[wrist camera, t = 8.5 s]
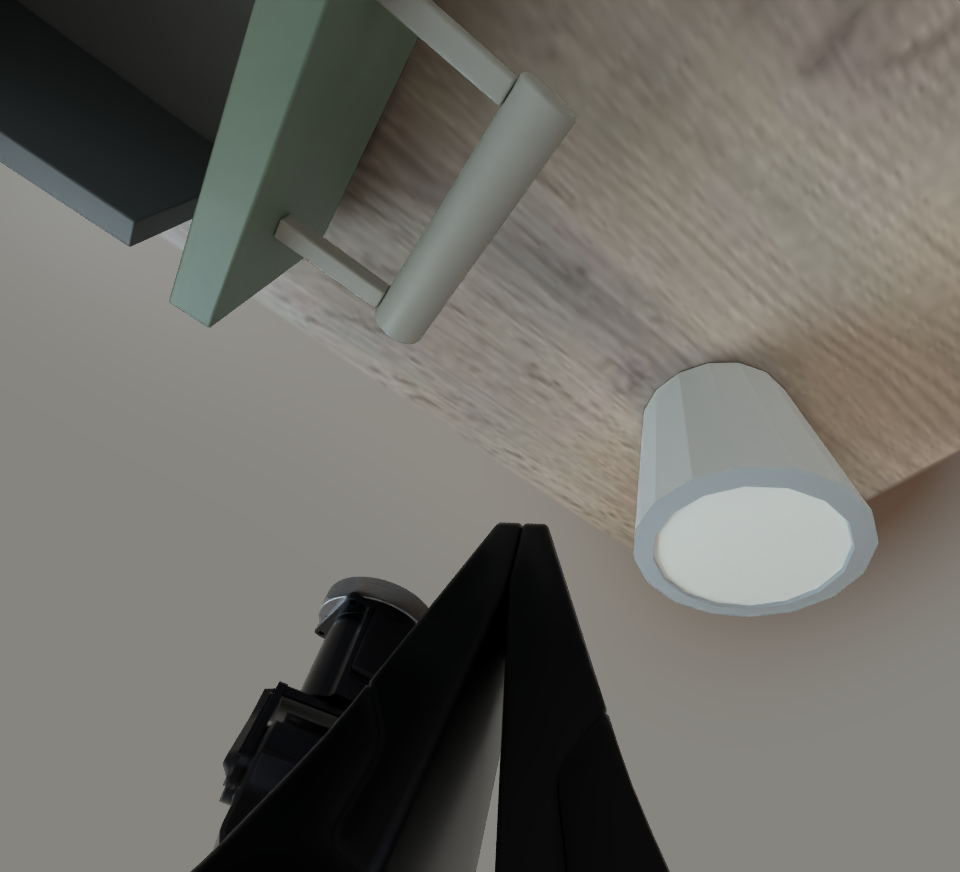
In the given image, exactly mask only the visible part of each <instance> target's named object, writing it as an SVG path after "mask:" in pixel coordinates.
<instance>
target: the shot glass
mask: <svg viewBox="0 0 960 872" xmlns="http://www.w3.org/2000/svg"><path fill="white" fill-rule="evenodd" d="M878 543H879V542H878V537H877V532H876V528H875V523H874V518H873V513H872V510H871V509H870V507H869V506H868V505H867V503H866V502H865V501H864V499H863V498H862V496H861V495H860V494H859V492H858V491H857V489H856V488H855V487H854V485H853V484H852V483H851V481H850V480H849V478H848V477H847V476H846V474H845V473H844V472H843V470H842V469H841V467H840V466H839V465H838V463H837V462H836V460H835V459H834V458H833V456H832V455H831V454H830V452H829V451H828V449H827V448H826V447H825V445H824V444H823V442H822V441H821V440H820V438H819V437H818V436H817V434H816V433H815V431H814V430H813V429H812V427H811V426H810V424H809V423H808V422H807V420H806V419H805V418H804V416H803V415H802V413H801V412H800V411H799V409H798V408H797V406H796V405H795V404H794V402H793V401H792V400H791V398H790V397H789V395H788V394H787V393H786V391H785V390H784V389H783V388H782V387H781V386H780V385H779V384H778V383H777V382H776V381H775V380H774V379H773V378H772V377H771V376H770V375H769V374H768V373H767V372H764V371H761V370H759V369H756V368H753V367H750V366H747V365H744V364H741V363H707V364H704V365H701V366H698V367H695V368H692V369H689V370H686V371H683V372H680V373H678V374H677V375H675V376H674V377H673V378H671V379H670V380H669V381H667V382H666V383H665V384H663V385H662V386H661V387H659V388H658V389H657V390H656V391H655V393H654V395H653V396H652V398H651V399H650V401H649V403H648V404H647V406H646V408H645V409H644V416H643V429H642V443H641V456H640V470H639V484H638V498H637V511H636V525H635V539H634V552H633V557H634V559H635V561H636V563H637V565H638V567H639V568H640V570H641V572H642V574H643V576H644V578H645V579H646V581H647V582H648V583H649V584H650V585H652V586H653V587H655V588H656V589H657V590H659V591H660V592H662V593H663V594H664V595H665V596H667V597H668V598H670V599H671V600H672V601H674V602H677V603H680V604H683V605H686V606H689V607H692V608H695V609H698V610H701V611H704V612H707V613H712V614H722V615H733V616H744V617H755V616H762V615H771V614H778V613H786V612H794V611H796V610H799V609H802V608H805V607H807V606H810V605H813V604H815V603H818V602H821V601H823V600H826V599H829V598H831V597H834V596H835V595H836V594H838V593H839V592H840V591H842V590H843V589H844V588H845V587H847V586H848V585H849V584H850V583H852V582H853V581H854V580H856V579H857V578H858V577H859V576H861V575H862V574H863V573H864V572H865V570H866V568H867V566H868V564H869V562H870V560H871V558H872V556H873V554H874V551H875V549H876V547H877V545H878Z"/></svg>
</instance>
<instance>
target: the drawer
mask: <svg viewBox="0 0 960 872" xmlns="http://www.w3.org/2000/svg"><path fill="white" fill-rule="evenodd" d="M435 1H436V0H0V162H1V163H3V164H4V165H6V166H7V167H9V168H10V169H12V170H13V171H15V172H17V173H18V174H20V175H21V176H23V177H24V178H26V179H27V180H29V181H30V182H32V183H33V184H35V185H36V186H38V187H39V188H41V189H42V190H44V191H45V192H47V193H48V194H50V195H52V196H53V197H54V198H56V199H58V200H59V201H61V202H62V203H64V204H65V205H67V206H68V207H70V208H71V209H73V210H74V211H76V212H77V213H79V214H80V215H82V216H83V217H85V218H86V219H88V220H89V221H91V222H93V223H94V224H96V225H97V226H99V227H100V228H102V229H103V230H105V231H106V232H108V233H109V234H111V235H112V236H114V237H115V238H117V239H118V240H120V241H121V242H123V243H125V244H126V245H128V246H133V245H135V244H137V243H140V242H142V241H144V240H146V239H148V238H151V237H153V236H155V235H157V234H160V233H162V232H164V231H166V230H168V229H171V228H173V227H175V226H177V225H179V224H182V223H184V222H186V221H188V220H191V219H192V223H191V226H190V230H189V233H188V237H187V240H186V244H185V247H184V251H183V254H182V258H181V261H180V265H179V268H178V272H177V275H176V279H175V282H174V286H173V290H172V293H171V296H170V300H169V301H170V303H171V304H173V305H174V306H176V307H177V308H179V309H180V310H182V311H183V312H185V313H187V314H188V315H190V316H191V317H193V318H194V319H196V320H198V321H199V322H201V323H202V324H204V325H205V326H207V327H211V326H213V325H214V324H215V323H217V322H218V321H219V320H221V319H222V318H223V317H225V316H226V315H227V314H229V313H230V312H231V311H233V310H234V309H235V308H237V307H238V306H240V305H241V304H242V303H244V302H245V301H246V300H248V299H249V298H250V297H252V296H253V295H254V294H256V293H257V292H258V291H260V290H261V289H263V288H264V287H265V286H267V285H268V284H269V283H271V282H272V281H273V280H275V279H276V278H277V277H279V276H280V275H281V274H283V273H284V272H285V271H287V270H288V269H289V268H291V267H292V266H293V265H295V264H296V263H297V262H299V261H300V260H301V259H303V258H305V259H306V260H307V261H309V262H310V263H312V264H313V265H315V266H316V267H317V268H319V269H320V270H322V271H323V272H324V273H326V274H327V275H329V276H330V277H332V278H333V279H334V280H336V281H337V282H339V283H340V284H341V285H343V286H344V287H346V288H347V289H348V290H350V291H351V292H353V293H354V294H356V295H357V296H358V297H360V298H361V299H363V300H364V301H365V302H367V303H368V304H370V305H371V306H372V307H374V308H376V307H378V308H377V309H376V312H375V318H376V321H377V323H378V325H379V326H380V328H381V329H382V330H383V331H384V332H385V333H386V334H387V335H388V336H390V337H391V338H393V339H395V340H397V341H399V342H401V343H405V344H414V343H416V342H418V341H419V340H420V339H421V338H422V336H423V335H424V333H425V332H426V331H427V329H428V328H429V326H430V325H431V324H432V322H433V321H434V319H435V318H436V317H437V315H438V314H439V312H440V311H441V310H442V308H443V307H444V305H445V304H446V303H447V301H448V300H449V298H450V297H451V296H452V294H453V293H454V291H455V290H456V289H457V287H458V286H459V284H460V283H461V282H462V280H463V279H464V277H465V276H466V275H467V273H468V272H469V270H470V269H471V268H472V266H473V265H474V263H475V262H476V261H477V259H478V258H479V256H480V255H481V254H482V252H483V251H484V249H485V248H486V247H487V245H488V244H489V242H490V241H491V240H492V238H493V237H494V235H495V234H496V233H497V231H498V230H499V228H500V227H501V226H502V224H503V223H504V221H505V220H506V218H507V217H508V216H509V214H510V213H511V211H512V210H513V209H514V207H515V206H516V204H517V203H518V202H519V200H520V199H521V197H522V196H523V195H524V193H525V192H526V190H527V189H528V188H529V186H530V185H531V183H532V182H533V181H534V179H535V178H536V176H537V175H538V174H539V172H540V171H541V169H542V168H543V167H544V165H545V164H546V162H547V161H548V160H549V158H550V157H551V155H552V154H553V153H554V151H555V150H556V148H557V147H558V146H559V144H560V143H561V141H562V140H563V139H564V137H565V136H566V134H567V133H568V132H569V130H570V129H571V127H572V126H573V125H574V123H575V122H576V116H575V114H574V112H573V111H572V109H571V108H570V107H569V106H568V105H567V104H566V103H565V102H564V101H563V100H562V99H561V98H560V97H559V96H558V95H557V94H556V93H555V92H554V91H553V90H552V89H550V88H549V87H548V86H547V85H546V84H544V83H543V82H542V81H541V80H539V79H538V78H537V77H535V76H534V75H532V74H531V73H529V72H525V71H524V72H522V73H521V74H520V76H519V77H518V78H517V76H516V75H515V74H514V73H513V72H512V71H511V70H510V69H508V68H507V67H506V66H505V65H504V64H503V63H502V62H501V61H499V60H498V59H497V58H496V57H495V56H494V55H493V54H492V53H490V52H489V51H488V50H487V49H486V48H485V47H484V46H483V45H481V44H480V43H479V42H478V41H477V40H476V39H475V38H474V37H472V36H471V35H470V34H469V33H468V32H467V31H466V30H465V29H463V28H462V27H461V26H460V25H459V24H458V23H457V22H456V21H454V20H453V19H452V18H451V17H450V16H449V15H448V14H447V13H445V12H444V11H443V10H442V9H441V8H440V7H439V6H438V5H436V4H435ZM418 37H419V38H420V39H422V40H423V41H424V42H425V43H426V44H427V45H429V46H430V47H431V48H432V49H433V50H434V51H435V52H437V53H438V54H439V55H440V56H441V57H442V58H444V59H445V60H446V61H447V62H448V63H449V64H450V65H452V66H453V67H454V68H455V69H456V70H457V71H459V72H460V73H461V74H462V75H463V76H464V77H466V78H467V79H468V80H469V81H470V82H471V83H472V84H474V85H475V86H476V87H477V88H478V89H479V90H481V91H482V92H483V93H484V94H485V95H486V96H488V97H489V98H490V99H491V100H492V101H493V102H494V103H496V104H497V105H500V104H502V103H503V104H502V105H501V107H500V108H499V110H498V112H497V113H496V115H495V117H494V118H493V120H492V122H491V123H490V125H489V126H488V128H487V130H486V131H485V133H484V135H483V136H482V138H481V140H480V141H479V143H478V144H477V146H476V148H475V149H474V151H473V153H472V154H471V156H470V157H469V159H468V161H467V162H466V164H465V166H464V167H463V169H462V171H461V172H460V174H459V175H458V177H457V179H456V180H455V182H454V184H453V185H452V187H451V189H450V190H449V192H448V193H447V195H446V197H445V198H444V200H443V202H442V203H441V205H440V206H439V208H438V210H437V211H436V213H435V215H434V216H433V218H432V220H431V221H430V223H429V224H428V226H427V228H426V229H425V231H424V233H423V234H422V236H421V238H420V239H419V241H418V242H417V244H416V246H415V247H414V249H413V251H412V252H411V254H410V255H409V257H408V259H407V260H406V262H405V264H404V265H403V267H402V269H401V270H400V272H399V273H398V275H397V277H396V278H395V280H394V282H393V283H392V285H391V287H390V286H389V285H388V284H387V283H386V282H384V281H383V280H381V279H380V278H379V277H377V276H376V275H375V274H373V273H372V272H370V271H369V270H368V269H366V268H365V267H364V266H362V265H361V264H359V263H358V262H357V261H355V260H354V259H352V258H351V257H350V256H348V255H347V254H346V253H344V252H343V251H341V250H340V249H339V248H337V247H336V246H335V245H333V244H332V243H330V242H329V241H328V240H326V239H325V238H323V236H324V234H325V232H326V230H327V228H328V226H329V223H330V221H331V219H332V217H333V215H334V213H335V211H336V209H337V207H338V205H339V202H340V200H341V198H342V196H343V194H344V192H345V190H346V188H347V186H348V184H349V181H350V179H351V177H352V175H353V173H354V171H355V169H356V167H357V165H358V162H359V160H360V158H361V156H362V154H363V152H364V150H365V148H366V146H367V144H368V141H369V139H370V137H371V135H372V133H373V131H374V129H375V127H376V125H377V123H378V120H379V118H380V116H381V114H382V112H383V110H384V108H385V106H386V104H387V102H388V99H389V97H390V95H391V93H392V91H393V89H394V87H395V85H396V83H397V81H398V78H399V76H400V74H401V72H402V70H403V68H404V66H405V64H406V62H407V60H408V57H409V55H410V53H411V51H412V49H413V47H414V45H415V43H416V41H417V38H418ZM378 305H379V306H378Z"/></svg>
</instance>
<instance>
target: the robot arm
mask: <svg viewBox="0 0 960 872" xmlns="http://www.w3.org/2000/svg"><path fill="white" fill-rule="evenodd" d="M315 633H316V634H317V635H319V636H321V637H323V638H324V639H325V640H324V642H323V644H322V646H321V648H320V650H319V653H318V655H317V657H316V659H315V661H314V663H313V665H312V667H311V669H310V672H309V674H308V676H307V678H306V680H305V682H304V685H303V687H302V689H301V691H299V690H297V689H294V688H291V687H289V686H288V684H286V683H283V682H281V681H280V682H279V684H278V686H277V687H276V689H275V688H274V689H265V690H264V691H263V693H262V695H261V697H260V699H259V701H258V703H257V705H256V707H255V709H254V710H253V712H252V714H251V716H250V718H249V720H248V721H247V723H246V724H245V726H244V728H243V729H242V731H241V733H240V734H239V736H238V738H237V739H236V741H235V743H234V744H233V746H232V748H231V749H230V751H229V753H228V754H227V756H226V758H225V760H224V762H223V767H224V771H225V775H226V779H225V782H224V784H223V785H224V786H225V789H224V791H223V793H222V796H221V798H220V802H222V803H224V804H227V805H230V806H231V807H230V809H229V811H228V813H227V815H226V817H225V819H224V821H223V823H222V826H221V829H220V831H219V834H218V837H217V840H216V843H215V846H214V849H213V851H212V852H211V853H210V854H209V855H208V856H207V857H206V858H205V859H204V860H203V861H202V862H201V863H200V864H199V865H198V866H197V867H195V868H194V869H193V870H192V871H191V872H476V868H477V863H478V858H479V854H480V849H481V844H482V839H483V834H484V829H485V825H486V820H487V815H488V810H489V805H490V800H491V795H492V790H493V786H494V781H495V775H496V771H497V766H498V761H499V756H500V751H501V757H500V777H499V799H498V820H497V841H496V863H495V872H670V871H669V869H668V867H667V865H666V862H665V860H664V858H663V856H662V854H661V851H660V849H659V847H658V845H657V842H656V840H655V838H654V836H653V834H652V831H651V829H650V826H649V824H648V822H647V819H646V817H645V814H644V812H643V810H642V807H641V805H640V803H639V800H638V798H637V795H636V793H635V791H634V788H633V786H632V783H631V780H630V777H629V775H628V772H627V769H626V766H625V763H624V760H623V758H622V755H621V752H620V749H619V746H618V744H617V741H616V737H615V734H614V731H613V728H612V725H611V721H610V718H609V716H608V715H607V714H606V707H605V703H604V700H603V697H602V694H601V691H600V688H599V685H598V682H597V678H596V675H595V672H594V669H593V666H592V663H591V660H590V657H589V653H588V651H587V647H586V644H585V641H584V638H583V634H582V631H581V628H580V625H579V622H578V619H577V616H576V612H575V609H574V606H573V603H572V600H571V597H570V594H569V591H568V587H567V584H566V581H565V578H564V575H563V572H562V568H561V565H560V562H559V559H558V557H557V553H556V550H555V547H554V543H553V540H552V537H551V534H550V531H549V528H548V526H547V525H545V524H525V525H524V526H522V525H521V524H519V523H499V524H497V525H496V526H495V527H494V528H493V530H492V531H491V532H490V533H489V535H488V536H487V537H486V538H485V539H484V541H483V542H482V543H481V545H480V546H479V547H478V548H477V549H476V551H475V552H474V553H473V554H472V556H471V557H470V558H469V559H468V561H467V562H466V563H465V564H464V565H463V567H462V568H461V569H460V570H459V572H458V573H457V574H456V575H455V577H454V578H453V579H452V580H451V582H450V583H449V584H448V585H447V587H446V588H445V589H444V590H443V591H442V593H441V594H440V595H439V596H438V598H437V599H436V600H435V601H434V602H433V604H432V605H431V606H430V607H429V609H428V610H427V611H426V612H425V614H424V615H423V616H422V617H421V618H420V620H419V621H418V622H417V623H416V625H415V626H414V625H412V624H410V623H409V622H407V621H405V620H403V619H401V618H400V617H398V616H396V615H394V614H393V613H391V612H389V611H387V610H385V609H384V608H382V607H380V606H378V605H376V604H375V603H373V602H371V601H369V600H367V599H366V598H364V597H362V596H360V595H358V594H356V593H350V594H349V595H348V596H347V597H346V598H345V599H344V600H343V601H342V602H341V603H340V604H339V605H338V606H337V607H336V608H335V609H334V610H332V611H331V612H330V613H329V614H328V615H327V616H326V617H325V618H324V619H323V620H322V621H321V622H320V623H319V624H318V625H317V628H316V629H315Z"/></svg>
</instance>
